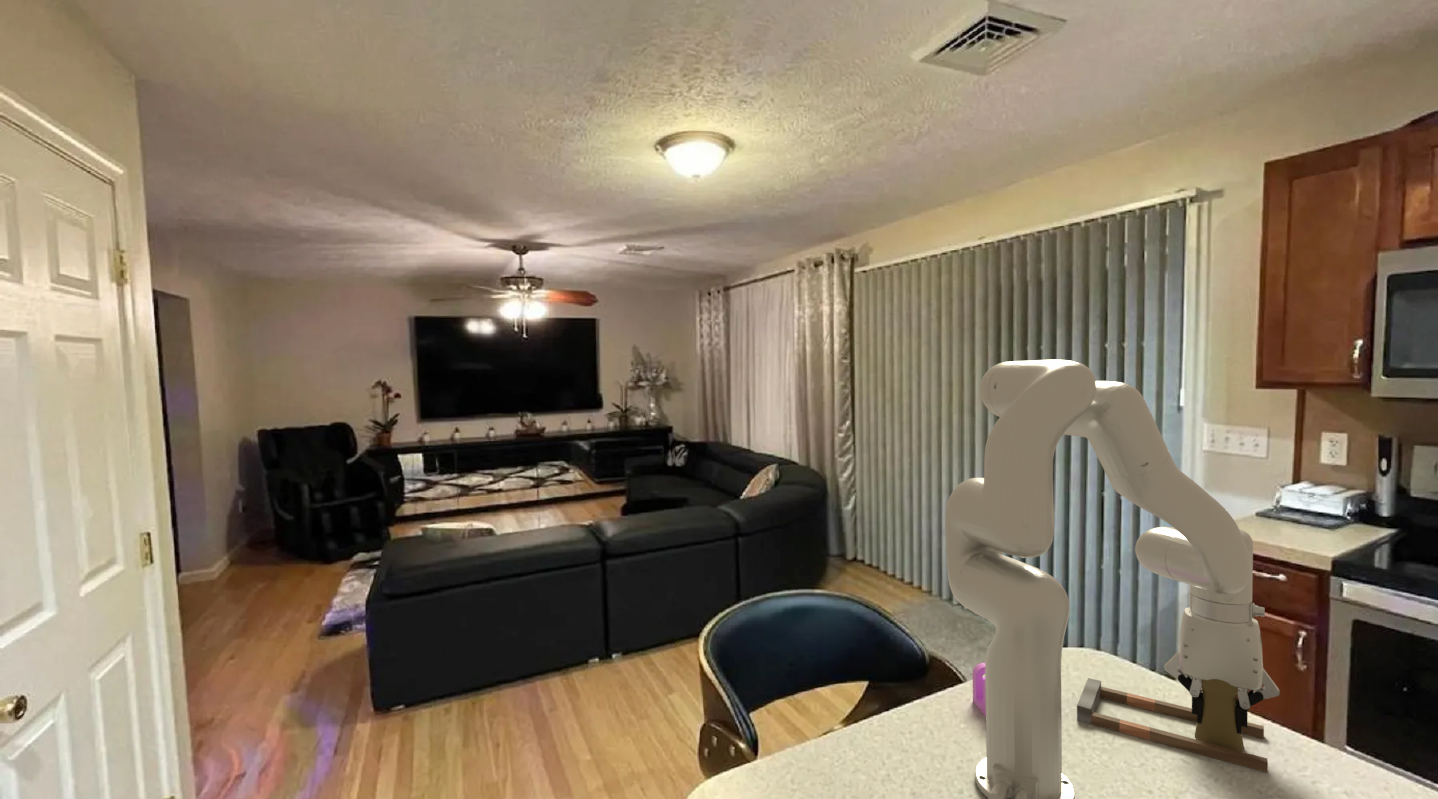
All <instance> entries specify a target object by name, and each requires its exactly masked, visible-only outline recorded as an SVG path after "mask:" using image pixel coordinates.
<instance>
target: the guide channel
mask: <svg viewBox="0 0 1438 799" xmlns="http://www.w3.org/2000/svg"><path fill="white" fill-rule="evenodd" d="M1085 682H1086V683H1085V684H1084V687H1083V690H1082V692H1081V695H1080V697H1079V700H1078V702H1077V704H1076V720H1077V721H1079V722H1083V723H1085V724H1090V725H1093V726H1097V727H1101V728H1104V729H1107V730H1110V731H1111V730H1112V731H1115V732H1119V733H1122V734H1126V735H1130V736H1134V737H1136V738H1141V739H1145V740H1147V741H1151V742H1156V743H1157V744H1162V745H1166V746H1170V747H1172V748H1177V749H1180V750H1183V751H1187V752H1191V753H1195V754H1199V755H1202V756H1205V757H1210V758H1212V759H1215V760H1220V761H1224V762H1227V763H1231V764H1233V765H1238V766H1241V767H1246V768H1249V769H1252V770H1256V771H1260V772H1264V773H1269V771H1268V769H1269V767H1268V764H1269V763H1268V758H1267V757H1263V756H1259V755H1255V754H1251V753H1249V752H1245V751H1242V752H1241V751H1237V750H1234V749H1230V748H1226V747H1222V746H1219V745H1215V744H1211V743H1207V742H1204V741H1200V740H1197V739H1196V738H1192V737H1189V736H1184V735H1181V734H1177V733H1173V732H1169V731H1165V730H1162V729H1159V728H1155V727H1152V726H1146V725H1143V724H1139V723H1136V722H1132V721H1128V720H1124V719H1120V718H1117V717H1113V716H1110V715H1106V714H1102V713H1098V712H1096V711H1097V707H1098V705H1099V701H1100V699H1104V700H1108V701H1112V702H1117V703H1120V704H1124V705H1128V706H1131V707H1134V708H1135V707H1136V708H1140V709H1143V708H1144V709H1143V710H1148V711H1151V712H1155V713H1159V712H1160V714H1164V715H1167V716H1172V717H1174V718H1180V719H1183V720H1189V721H1191V722H1195V723H1197V715H1195V714H1192V707H1187V706H1183V705H1178V704H1175V703H1171V702H1166V701H1163V700H1158V699H1153V698H1150V697H1145V696H1143V695H1137V694H1133V693H1129V692H1125V691H1122V690H1117V689H1114V688H1113V689H1112V688H1109V687H1105V686H1102V680H1098V679H1095V678H1090V677H1087V680H1086V681H1085ZM1100 697H1101V698H1100ZM1241 731H1242V735H1247V736H1251V737H1255V738H1259V739H1265V729H1264V725H1261V724H1257V723H1252V722H1249V721H1247V728H1246V727H1242V726H1241Z"/></svg>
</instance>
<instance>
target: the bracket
mask: <svg viewBox="0 0 1438 799" xmlns="http://www.w3.org/2000/svg"><path fill="white" fill-rule="evenodd" d="M984 675H985V662H980V663H977V664H976V665H975V666H974V668H973V669H972V702H973V703H974V704H975V705H976V707H977V708H978V709H979V711H980V712H981V713H982V714H983V716H985V718H986V675H985V676H984Z"/></svg>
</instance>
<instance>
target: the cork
mask: <svg viewBox="0 0 1438 799" xmlns="http://www.w3.org/2000/svg"><path fill="white" fill-rule="evenodd" d="M1201 689H1202V698H1203V717H1202V722H1201V724H1200V723H1197V722H1196V726H1195V731H1194V738H1195V739H1196V740H1200V741H1204V742H1207V743H1211V744H1215V745H1219V746H1222V747H1226V748H1230V749H1234V750H1237V751H1241V752H1244V749H1245V746H1244V739H1243V734H1242V731H1241V734H1238V733H1237V728H1236V723H1235V717H1236V706H1237V698H1238V694H1237V693H1238V688H1236V687H1234V686H1231V685H1230V684H1229V683H1227V682H1225V681H1223V680H1218V679H1210V680H1202V686H1201Z"/></svg>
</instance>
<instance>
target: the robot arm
mask: <svg viewBox="0 0 1438 799" xmlns="http://www.w3.org/2000/svg"><path fill="white" fill-rule="evenodd" d="M979 396H980V399H981V401H982V403H983V405H984V406H985V408H986V409H987V410H988V411H989V412H990V413H992V414H993V415H995V416H997V417H999V418H998V419H997V421H996V422H995V423H994V425H993V426H992V428H991V430H990V433H989V434H988V437H987V438H986V443H985V449H984V464H983V466H984V467H983V470H984V471H983V477H972V478H968V479H966V480H964V481H961V482H960V483H959V484H958V485H956V487H955V488H954V489H953V490H952V492H951V494H950V495H949V498H948V500H947V502H946V508H945V513H944V514H945V515H944V516H945V517H944V520H945V547H946V548H945V549H946V567H947V570H946V571H947V579H948V584H949V588H950V590H951V593H952V595H953V596H954V598H955V599H956V600H957V601H958V603H960V604H961V606H963V607H964V608H966V609H967V610H970V611H971V612H972V613H974V614H976V615H978V616H980V617H982V618H983V619H985V620H987V621H988V622H990V623H991V624H993V625H994V626H995V634H994V637H993V638H992V640H991V642H990V644H989V646H988V648H987V650H986V653H985V659H984V660H985V662H984V663H985V674H984V675H985V676H986V717H985V736H986V737H985V740H986V743H985V746H986V747H985V748H986V757H984V758H982V759H981V760H980V761H978V763H977V764H976V766H975V769H974V781H975V784H976V786H977V788H978V789H979V791H980V792H981V793H982V794H983V795H984V796H985V797H986V798H987V799H1076V792H1075V787H1074V785H1073V784H1072V782H1071V781H1070V780H1069V779H1068V777H1067V776H1066V774H1063V771H1062V770H1063V762H1062V761H1063V760H1062V759H1063V756H1062V755H1063V753H1062V752H1063V750H1062V749H1063V748H1062V744H1063V742H1062V739H1063V738H1062V728H1063V727H1062V726H1063V725H1062V724H1063V723H1062V722H1063V721H1062V719H1063V718H1062V716H1063V715H1062V657H1063V646H1064V639H1065V635H1066V630H1067V626H1068V623H1069V617H1070V606H1071V605H1070V600H1069V597H1068V593H1067V592H1066V590H1065V588H1064V586H1063V585H1062V584H1061V582H1059V581H1058V580H1057V579H1056V578H1055V577H1053V576H1052V575H1050V574H1049V573H1048V572H1046V571H1044V570H1042V569H1040V568H1038V567H1036V566H1034V565H1031V564H1028V563H1026V562H1023V561H1020V560H1017V559H1015V558H1012V557H1009V556H1007V555H1010V556H1014V557H1019V558H1023V559H1033V558H1037V557H1041V556H1043V555H1044V554H1046V552H1048V550H1049V549H1050V548H1051V546H1052V544H1053V539H1054V535H1055V534H1054V533H1055V507H1054V506H1055V504H1054V479H1053V478H1054V477H1053V475H1054V474H1053V473H1054V470H1053V469H1054V456H1055V451H1056V449H1057V445H1058V444H1059V441H1060V440H1061V439H1062V437H1063V436H1064V435H1065V436H1073V437H1082V438H1086V439H1087V440H1088V442H1089V444H1090V445H1091V447H1092V449H1093V451H1094V453H1095V455H1096V457H1097V458H1098V460H1099V462H1100V464H1101V467H1102V468H1103V471H1104V472H1105V475H1106V477H1107V479H1108V481H1109V483H1110V485H1111V487H1112V488H1113V490H1114V491H1115V492H1117V493H1118V494H1119V495H1120V496H1121V497H1123V498H1125V499H1126V500H1128V502H1131V503H1132V504H1133V505H1135V506H1138V507H1139V508H1141V509H1142V510H1144V511H1146V512H1148V513H1150V514H1152V515H1154V516H1155V517H1157V518H1159V519H1160V520H1162V521H1163V522H1165V523H1167V524H1168V525H1169V526H1158V527H1153V528H1150V529H1147V530H1146V531H1144V532H1143V533H1142V534H1141V535H1140V536H1138V539H1137V540H1136V543H1135V547H1134V551H1135V557H1136V559H1137V560H1138V562H1139V564H1140V565H1141V566H1142V567H1144V568H1145V569H1146V570H1147V571H1148V572H1151V573H1153V574H1156V575H1158V576H1161V577H1164V578H1167V579H1170V580H1173V581H1175V582H1179V583H1184V584H1186V585H1189V607H1185V608H1184V611H1183V613H1182V617H1181V622H1180V632H1179V646H1178V651H1177V652H1176V653H1175V654H1174V655H1173V656H1172V657H1170V659H1168V660H1167V662H1165V664H1164V666H1163V667H1164V671H1165V672H1167V673H1168V674H1169V675H1170V676H1172V677H1173V678H1174V679H1176V680H1178V682H1179V683H1180V684H1181V685H1182V686H1183V687H1184V688H1185V689H1186V690H1187V691H1188V692H1189V695H1190V696H1191V708H1192V714H1195V715H1197V722H1196V724H1197V723H1200V724H1201V722H1202V717H1203V698H1202V692H1203V689H1202V687H1201V686H1202V680H1210V679H1218V680H1223V681H1225V682H1227V683H1229V684H1230V685H1231V686H1234V687H1236V688H1238V693H1237V694H1238V696H1237V697H1236V698H1237V706H1236V717H1235V723H1236V728H1237V733H1238V734H1241V726H1242V727H1246V728H1247V722H1248V710H1249V709H1250V708H1251V707H1252V706H1254V705H1257V704H1259V703H1260V702H1262V701H1263V700H1268V699H1271V698H1275V697H1279V696H1280V689H1279V687H1278V686H1277V684H1276V683H1275V681H1274V680H1273V679H1272V678H1271V676H1270V675H1269V674H1268V672H1267V670H1265V668H1264V663H1263V662H1264V660H1263V659H1264V658H1263V642H1262V634H1261V628H1260V624H1259V621H1258V620H1257V619H1255V617H1259V616H1260V617H1265V616H1266V612H1265V610H1266V609H1265V607H1263V606H1259V605H1256V604H1255V602H1253V582H1254V581H1253V578H1254V577H1253V575H1254V574H1253V571H1254V570H1253V567H1254V564H1253V563H1254V544H1253V543H1254V542H1253V539H1252V535H1251V534H1249V533H1248V532H1247V531H1245V530H1244V529H1239V528H1240V527H1239V525H1238V524H1237V522H1236V520H1234V518H1233V516H1231V514H1230V513H1229V511H1228V510H1227V509H1226V508H1225V507H1224V506H1223V505H1221V503H1220V502H1218V500H1217V499H1215V497H1213V496H1211V494H1209V493H1208V492H1207V491H1206V490H1205V489H1203V488H1202V487H1201V486H1200V485H1199V484H1197V482H1195V481H1194V480H1193V479H1191V478H1190V477H1189V476H1188V475H1186V474H1185V473H1183V472H1182V471H1181V470H1180V469H1179V468H1178V467H1177V464H1175V462H1174V459H1173V457H1172V456H1171V453H1170V450H1169V449H1168V447H1167V445H1166V442H1165V441H1164V438H1163V436H1162V434H1161V432H1160V430H1159V428H1158V425H1157V424H1156V421H1155V419H1154V417H1153V414H1152V413H1151V410H1150V409H1149V407H1148V404H1147V402H1146V400H1145V398H1144V396H1143V394H1142V393H1141V392H1140V391H1139V390H1138V389H1137V388H1135V387H1134V386H1132V385H1130V384H1127V383H1126V382H1122V381H1112V380H1110V381H1109V380H1096V376H1095V373H1093V371H1092V369H1090V368H1089V367H1088V366H1087V365H1085V364H1083V363H1081V362H1077V361H1074V360H1069V359H1068V360H1067V359H1036V360H1034V359H1033V360H1013V361H1011V360H1010V361H1003V362H999V363H997V364H995V365H993V366H992V367H990V368H989V369H988V370H987V371H986V372H985V373H984V375H983V377H982V378H981V381H980V384H979ZM1005 554H1007V555H1005Z"/></svg>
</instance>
